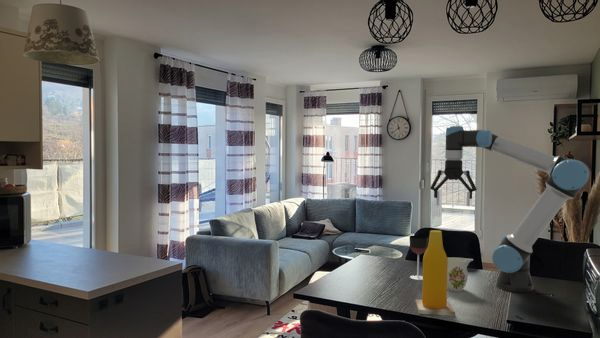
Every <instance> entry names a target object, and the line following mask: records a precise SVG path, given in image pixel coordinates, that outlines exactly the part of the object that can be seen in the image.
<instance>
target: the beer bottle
mask: <svg viewBox="0 0 600 338" xmlns="http://www.w3.org/2000/svg"><path fill="white" fill-rule="evenodd" d="M442 232H443V231H442V230H438V229H435V230H434V229H433V230H430V231H429V236H428V243H427V248H426V251H425V252H424V253H423V256H422V257H423V258H422V276H423V280H422V287H421V289H422V293H421V300H422V303H423V305H424V306H425V307H428V308H432V309H443V308H445V307H446V306H447V301H448V289H447V267H448V260H447V258H448V255H447V253H446V251H445V249H444V245H443V233H442Z"/></svg>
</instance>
